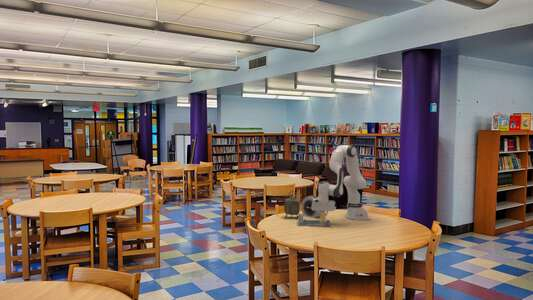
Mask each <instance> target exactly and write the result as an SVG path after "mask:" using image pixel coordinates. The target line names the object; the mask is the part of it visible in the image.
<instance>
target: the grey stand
mask: <svg viewBox="0 0 533 300" xmlns="http://www.w3.org/2000/svg"><path fill="white" fill-rule="evenodd" d="M320 213H321V216H320V217H318V219H311V220H307V219H306V218H304V219H305V221H311V222H321V221H322V222H326V221H327V220H328V219H327V218H326V216H325V214H326V211H320Z"/></svg>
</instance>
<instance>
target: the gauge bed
mask: <svg viewBox="0 0 533 300" xmlns="http://www.w3.org/2000/svg"><path fill="white" fill-rule="evenodd" d="M297 219H298V226H299V227H320V228H321V227H322V228H324V227H325V228H332V222H331V220H330V219H326V220H327V221H326V222H322V224H321V222H311V221H305V219H306V218H304V215H303V213H299V214H298V217H297ZM307 220H312V219H307Z"/></svg>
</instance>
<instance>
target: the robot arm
mask: <svg viewBox="0 0 533 300" xmlns="http://www.w3.org/2000/svg"><path fill="white" fill-rule="evenodd" d="M344 158H345V164H346V170H347V173H348V174H349V175H346V176H345V170H344V168H343V163H344V162H343V161H344ZM328 165H329V169H330V170H331V171H332V172H334V173H335V174H336V175H337V177H336V178H337V180H336V184H331V183H329V181H327V180H322V181H319V183H318V190H317V192H318V196H317V197H318V198H315V199H313V202H312V206H311V209H312V210H314V211H318V213H319V211H325V217H327V216H328V214H329V212H335V210H336V208H335V206H336V201H335V200H333V199H332V200H330V199H329V196H332V197H335V198H340V197H341V196H343V194H344V186H345V188H346V190H347V203H346V207H347V211H346V215H345V218H346V219H350V220H354V221H357V220H358V221H359V220H360V221H361V220H362V221H363V220H369V221H370V220H371V216H370V215H369V213H368V211H367V210H366V209H365V208H364V204H363V203H361V194H360V192H359V191H358V190H363V189H366V187H367V181H366V179H365V178H364V177H363V175H362V173H361V171H360V165H359V158H358V155H357V148H356V146H354V145H348V144H344V145H343V144H342V145H336V146H335V147H334V149H333V151H332V153H331V156H330V159H329V164H328ZM319 216H321V213H319Z"/></svg>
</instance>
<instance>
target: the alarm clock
mask: <svg viewBox="0 0 533 300" xmlns="http://www.w3.org/2000/svg"><path fill="white" fill-rule="evenodd" d="M315 198H318V196H316V195H307V196H306V197H305V198H303V200H302V202H301V203H300V208H301V209H300V210H301V214H303V217H304V216H306V217H309V218H313V219H317V218H320V216H319V213H320V211H319V213H318V211H314V210H312V209H311V206H312V202H313V199H315Z"/></svg>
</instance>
